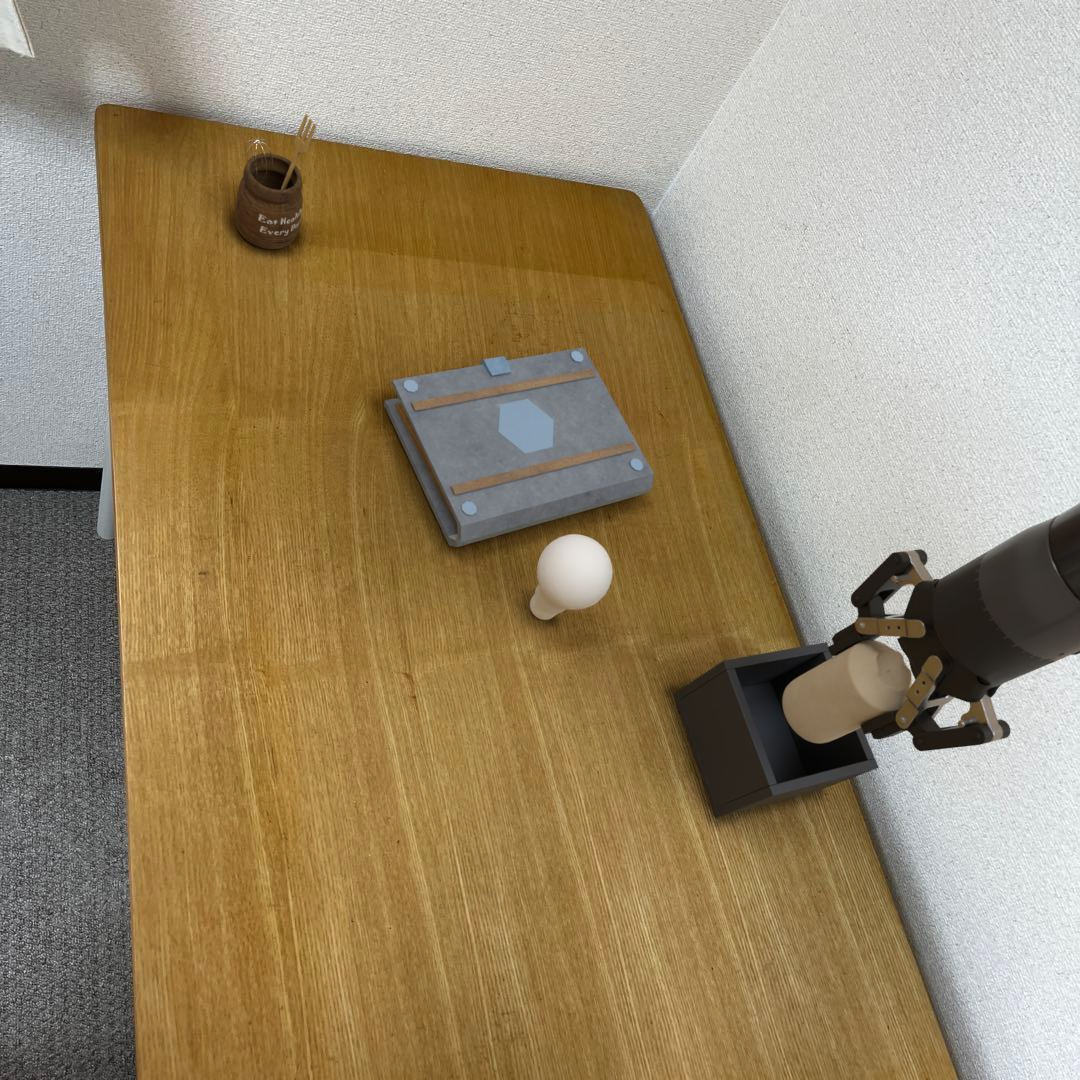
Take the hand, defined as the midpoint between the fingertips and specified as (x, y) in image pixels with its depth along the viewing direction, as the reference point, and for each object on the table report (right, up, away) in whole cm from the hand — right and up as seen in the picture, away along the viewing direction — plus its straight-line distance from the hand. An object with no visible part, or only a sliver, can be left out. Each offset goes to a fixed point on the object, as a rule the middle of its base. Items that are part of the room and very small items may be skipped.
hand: (854, 688), depth 68 cm
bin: (-5, -7, +13) cm, 15 cm away
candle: (-2, -3, +5) cm, 6 cm away
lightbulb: (-24, +5, +12) cm, 27 cm away
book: (-26, +19, +18) cm, 37 cm away
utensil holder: (-51, +42, +20) cm, 69 cm away
